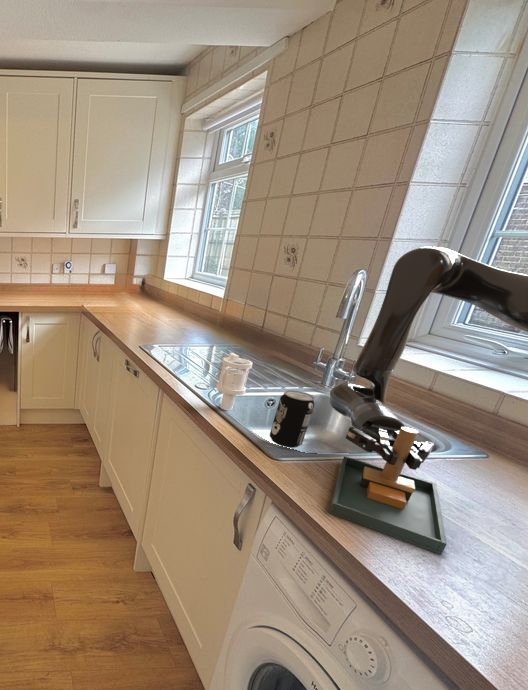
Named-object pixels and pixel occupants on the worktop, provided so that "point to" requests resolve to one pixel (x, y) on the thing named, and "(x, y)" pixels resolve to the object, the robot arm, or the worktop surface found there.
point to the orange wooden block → (386, 495)
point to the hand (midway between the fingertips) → (404, 462)
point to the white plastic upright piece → (232, 379)
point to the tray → (390, 508)
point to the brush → (394, 466)
